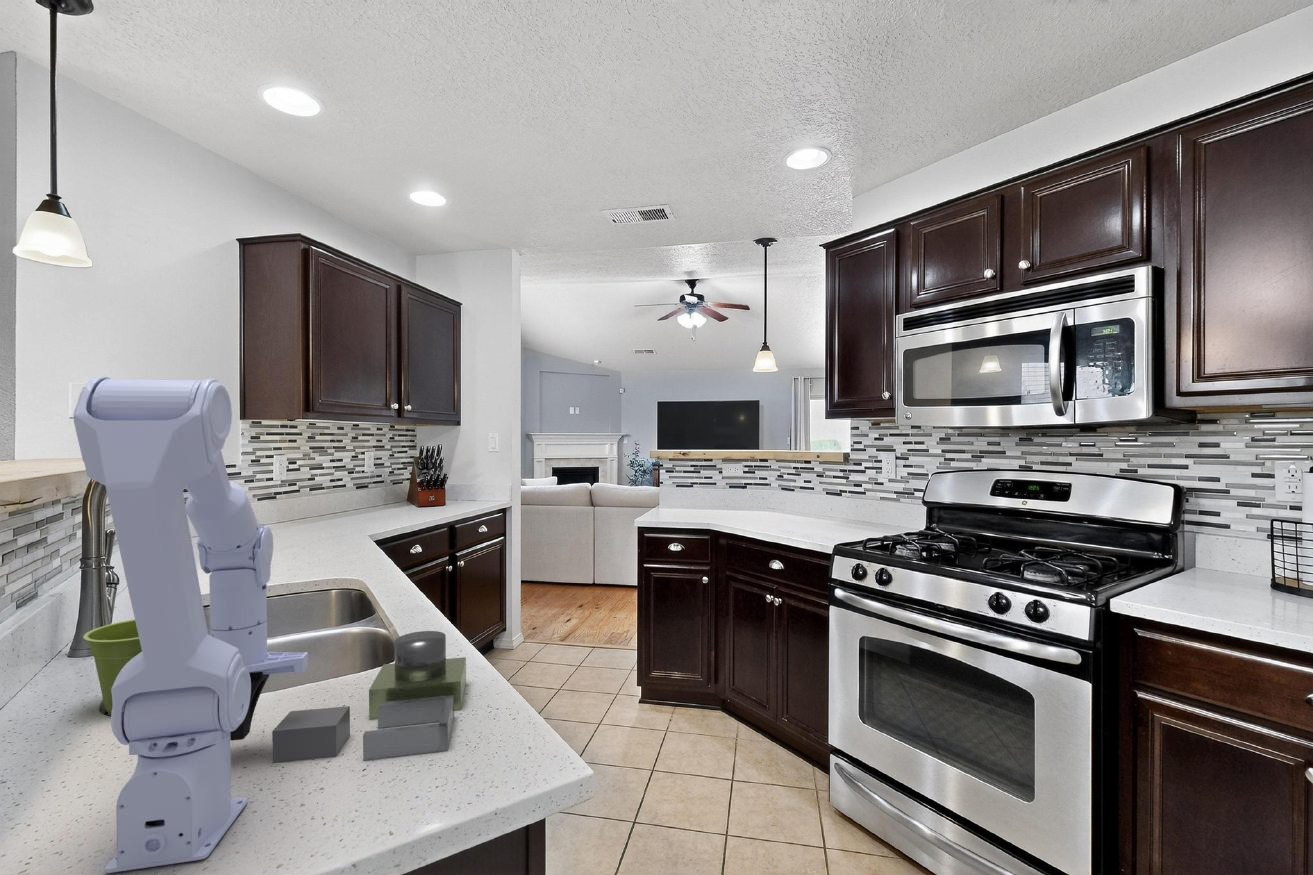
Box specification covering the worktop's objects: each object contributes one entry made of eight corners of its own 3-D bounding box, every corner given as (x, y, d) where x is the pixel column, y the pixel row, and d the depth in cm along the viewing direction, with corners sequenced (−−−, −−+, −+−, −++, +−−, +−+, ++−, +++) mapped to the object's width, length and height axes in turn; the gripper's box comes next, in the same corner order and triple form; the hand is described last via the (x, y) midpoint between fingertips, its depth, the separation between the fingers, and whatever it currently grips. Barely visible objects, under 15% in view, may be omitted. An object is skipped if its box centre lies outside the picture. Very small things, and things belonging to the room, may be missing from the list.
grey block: (336, 758, 75) (336, 725, 75) (272, 764, 73) (272, 731, 73) (350, 737, 80) (349, 706, 80) (290, 742, 79) (290, 711, 79)
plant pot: (64, 728, 83) (64, 644, 83) (109, 694, 94) (109, 620, 94) (170, 715, 87) (170, 634, 87) (201, 684, 98) (201, 612, 98)
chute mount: (453, 749, 76) (452, 676, 76) (347, 762, 73) (346, 685, 73) (466, 682, 97) (465, 625, 97) (383, 690, 94) (383, 631, 95)
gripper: (315, 610, 81) (316, 715, 81) (186, 618, 77) (188, 728, 77) (296, 626, 74) (298, 740, 74) (155, 636, 70) (156, 756, 70)
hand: (240, 736), depth 75 cm, fingers closed
